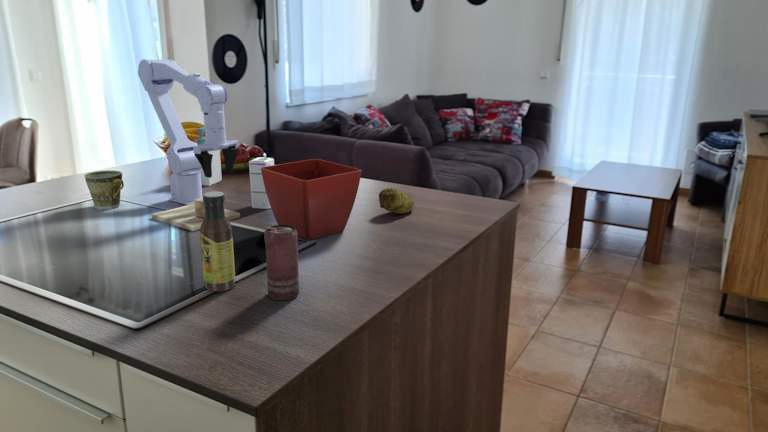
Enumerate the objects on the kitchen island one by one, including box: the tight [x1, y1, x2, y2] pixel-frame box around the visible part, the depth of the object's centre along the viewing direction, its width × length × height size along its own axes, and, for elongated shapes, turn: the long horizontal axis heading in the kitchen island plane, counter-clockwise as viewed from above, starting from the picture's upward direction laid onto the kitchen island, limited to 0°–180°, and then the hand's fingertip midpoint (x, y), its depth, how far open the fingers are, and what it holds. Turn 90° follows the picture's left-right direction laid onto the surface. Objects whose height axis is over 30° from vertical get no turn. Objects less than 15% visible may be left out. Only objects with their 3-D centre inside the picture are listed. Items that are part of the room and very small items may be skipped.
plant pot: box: [261, 158, 362, 241], centre depth 153 cm, size 19×19×17 cm
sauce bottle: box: [199, 191, 236, 293], centre depth 117 cm, size 6×6×20 cm
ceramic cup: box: [84, 169, 125, 211], centre depth 172 cm, size 13×10×10 cm
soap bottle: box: [194, 126, 223, 187], centre depth 201 cm, size 9×9×19 cm
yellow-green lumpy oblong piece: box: [378, 187, 415, 215], centre depth 171 cm, size 8×13×8 cm, turn 119°
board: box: [151, 203, 241, 232], centre depth 164 cm, size 18×16×1 cm
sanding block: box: [194, 198, 205, 219], centre depth 160 cm, size 7×4×5 cm, turn 54°
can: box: [263, 224, 300, 302], centre depth 114 cm, size 6×6×14 cm
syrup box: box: [248, 156, 275, 210], centre depth 175 cm, size 6×6×14 cm
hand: (219, 174), depth 170 cm, fingers open, 7 cm apart
